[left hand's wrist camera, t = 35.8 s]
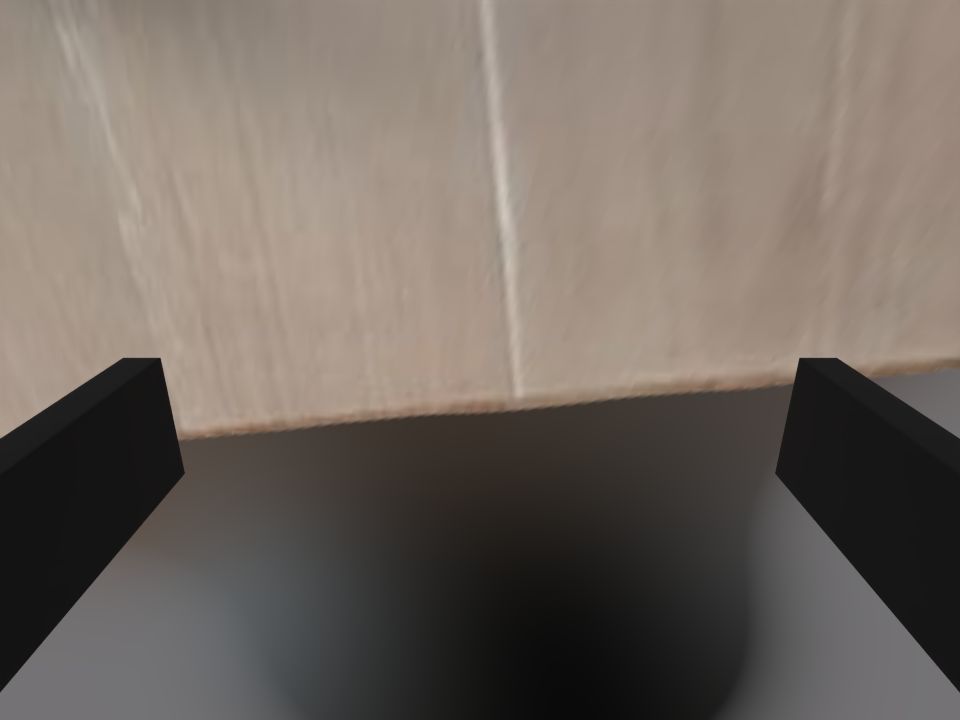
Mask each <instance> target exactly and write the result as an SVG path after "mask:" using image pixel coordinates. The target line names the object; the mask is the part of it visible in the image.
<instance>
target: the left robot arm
mask: <svg viewBox="0 0 960 720" xmlns="http://www.w3.org/2000/svg"><path fill="white" fill-rule="evenodd" d="M184 474H185V472H184V467H183V462H182V458H181V453H180V448H179V443H178V439H177V434H176V429H175V424H174V420H173V415H172V410H171V405H170V401H169V396H168V391H167V386H166V382H165V377H164V372H163V367H162V363H161V358H122V359H121V360H119V361H118V362H116V363H115V364H113V365H112V366H110V367H109V368H107V369H106V370H104V371H103V372H101V373H100V374H98V375H96V376H95V377H93V378H92V379H90V380H89V381H87V382H86V383H84V384H83V385H81V386H80V387H78V388H77V389H75V390H74V391H72V392H71V393H69V394H68V395H66V396H65V397H63V398H62V399H60V400H58V401H57V402H55V403H54V404H52V405H51V406H49V407H48V408H46V409H45V410H43V411H42V412H40V413H39V414H37V415H36V416H34V417H33V418H31V419H30V420H28V421H27V422H25V423H24V424H22V425H20V426H19V427H17V428H16V429H14V430H13V431H11V432H10V433H8V434H7V435H5V436H4V437H2V438H1V439H0V692H1V691H2V690H3V688H4V687H5V686H6V685H7V684H8V683H9V681H10V680H11V679H12V678H13V677H14V675H15V674H16V673H17V672H18V671H19V669H20V668H21V667H22V666H23V665H24V664H25V662H26V661H27V660H28V659H29V658H30V656H31V655H32V654H33V653H34V652H35V651H36V649H37V648H38V647H39V646H40V645H41V643H42V642H43V641H44V640H45V639H46V637H47V636H48V635H49V634H50V633H51V632H52V630H53V629H54V628H55V627H56V626H57V624H58V623H59V622H60V621H61V620H62V618H63V617H64V616H65V615H66V614H67V613H68V611H69V610H70V609H71V608H72V607H73V605H74V604H75V603H76V602H77V601H78V599H79V598H80V597H81V596H82V595H83V593H84V592H85V591H86V590H87V589H88V588H89V586H90V585H91V584H92V583H93V582H94V581H95V579H96V578H97V577H98V576H99V575H100V573H101V572H102V571H103V570H104V569H105V567H106V566H107V565H108V564H109V563H110V562H111V560H112V559H113V558H114V557H115V556H116V554H117V553H118V552H119V551H120V550H121V548H122V547H123V546H124V545H125V544H126V543H127V541H128V540H129V539H130V538H131V537H132V535H133V534H134V533H135V532H136V531H137V530H138V528H139V527H140V526H141V525H142V524H143V522H144V521H145V520H146V519H147V518H148V516H149V515H150V514H151V513H152V512H153V511H154V509H155V508H156V507H157V506H158V505H159V503H160V502H161V501H162V500H163V499H164V498H165V496H166V495H167V494H168V493H169V492H170V490H171V489H172V488H173V487H174V486H175V484H176V483H177V482H178V481H179V480H180V479H181V477H182V476H183V475H184ZM775 474H776V475H777V476H778V477H779V479H780V480H781V481H782V482H783V483H784V484H785V486H786V487H787V488H788V489H789V490H790V491H791V493H792V494H793V495H794V496H795V497H796V499H797V500H798V501H799V502H800V503H801V505H802V506H803V507H804V508H805V509H806V511H807V512H808V513H809V514H810V515H811V516H812V518H813V519H814V520H815V521H816V522H817V524H818V525H819V526H820V527H821V528H822V530H823V531H824V532H825V533H826V534H827V535H828V537H829V538H830V539H831V540H832V541H833V542H834V544H835V545H836V546H837V547H838V548H839V550H840V551H841V552H842V553H843V554H844V556H845V557H846V558H847V559H848V560H849V562H850V563H851V564H852V565H853V566H854V567H855V569H856V570H857V571H858V572H859V573H860V575H861V576H862V577H863V578H864V579H865V580H866V582H867V583H868V584H869V585H870V586H871V588H872V589H873V590H874V591H875V592H876V594H877V595H878V596H879V597H880V598H881V600H882V601H883V602H884V603H885V604H886V605H887V607H888V608H889V609H890V610H891V611H892V613H893V614H894V615H895V616H896V617H897V618H898V620H899V621H900V622H901V623H902V624H903V626H904V627H905V628H906V629H907V630H908V632H909V633H910V634H911V635H912V636H913V637H914V639H915V640H916V641H917V642H918V643H919V645H920V646H921V647H922V648H923V649H924V650H925V652H926V653H927V654H928V655H929V656H930V658H931V659H932V660H933V661H934V662H935V664H936V665H937V666H938V667H939V668H940V670H941V671H942V672H943V673H944V674H945V675H946V677H947V678H948V679H949V680H950V681H951V683H952V684H953V685H954V686H955V687H956V688H957V690H958V691H959V692H960V439H959V438H958V437H956V436H955V435H953V434H952V433H950V432H949V431H947V430H946V429H944V428H943V427H941V426H940V425H938V424H936V423H935V422H933V421H932V420H930V419H929V418H927V417H926V416H924V415H923V414H921V413H920V412H918V411H917V410H915V409H914V408H912V407H911V406H909V405H908V404H906V403H905V402H903V401H902V400H900V399H898V398H897V397H895V396H894V395H892V394H891V393H889V392H888V391H886V390H885V389H883V388H882V387H880V386H879V385H877V384H876V383H874V382H873V381H871V380H870V379H868V378H867V377H865V376H864V375H862V374H860V373H859V372H857V371H856V370H854V369H853V368H851V367H850V366H848V365H847V364H845V363H844V362H842V361H841V360H839V359H838V358H799V363H798V367H797V372H796V377H795V382H794V386H793V391H792V396H791V401H790V406H789V410H788V415H787V420H786V424H785V429H784V434H783V439H782V443H781V448H780V453H779V458H778V463H777V468H776V472H775Z"/></svg>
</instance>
